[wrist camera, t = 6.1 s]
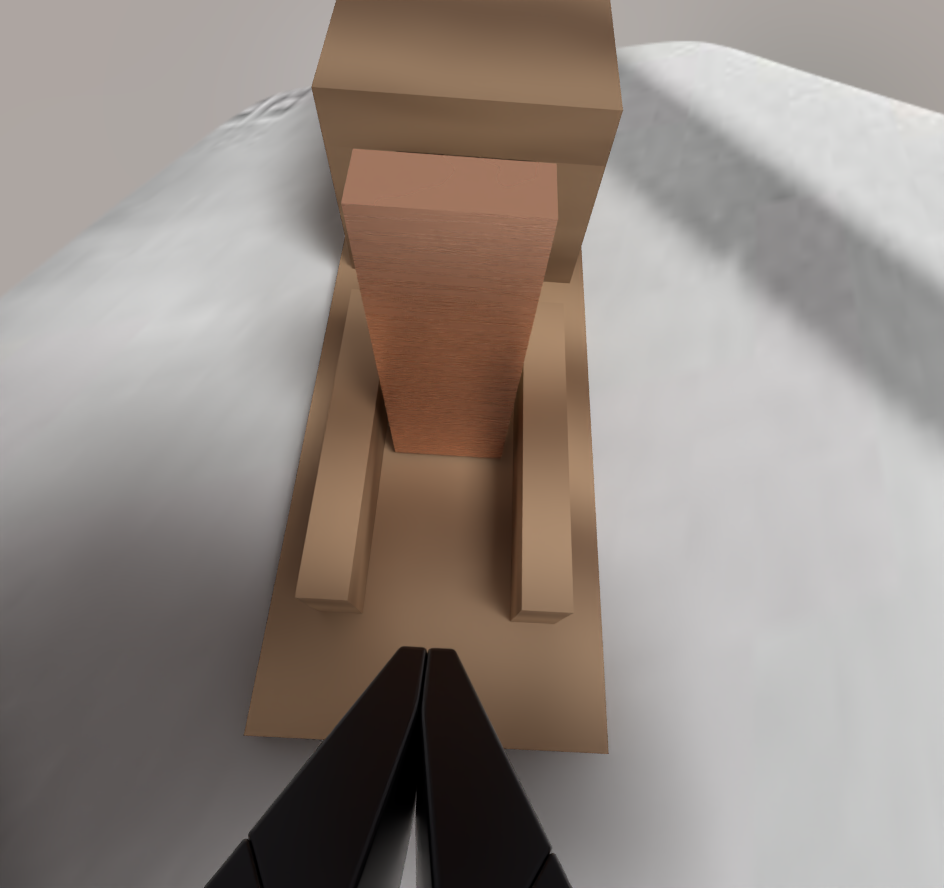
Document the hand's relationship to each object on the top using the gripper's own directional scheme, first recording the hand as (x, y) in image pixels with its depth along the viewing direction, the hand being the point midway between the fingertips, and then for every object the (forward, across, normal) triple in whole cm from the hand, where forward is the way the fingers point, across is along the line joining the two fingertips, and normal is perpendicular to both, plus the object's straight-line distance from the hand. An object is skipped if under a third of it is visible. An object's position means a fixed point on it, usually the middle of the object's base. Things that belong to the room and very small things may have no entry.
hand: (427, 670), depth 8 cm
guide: (+12, 0, -2) cm, 12 cm away
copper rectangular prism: (+13, 0, -5) cm, 14 cm away
